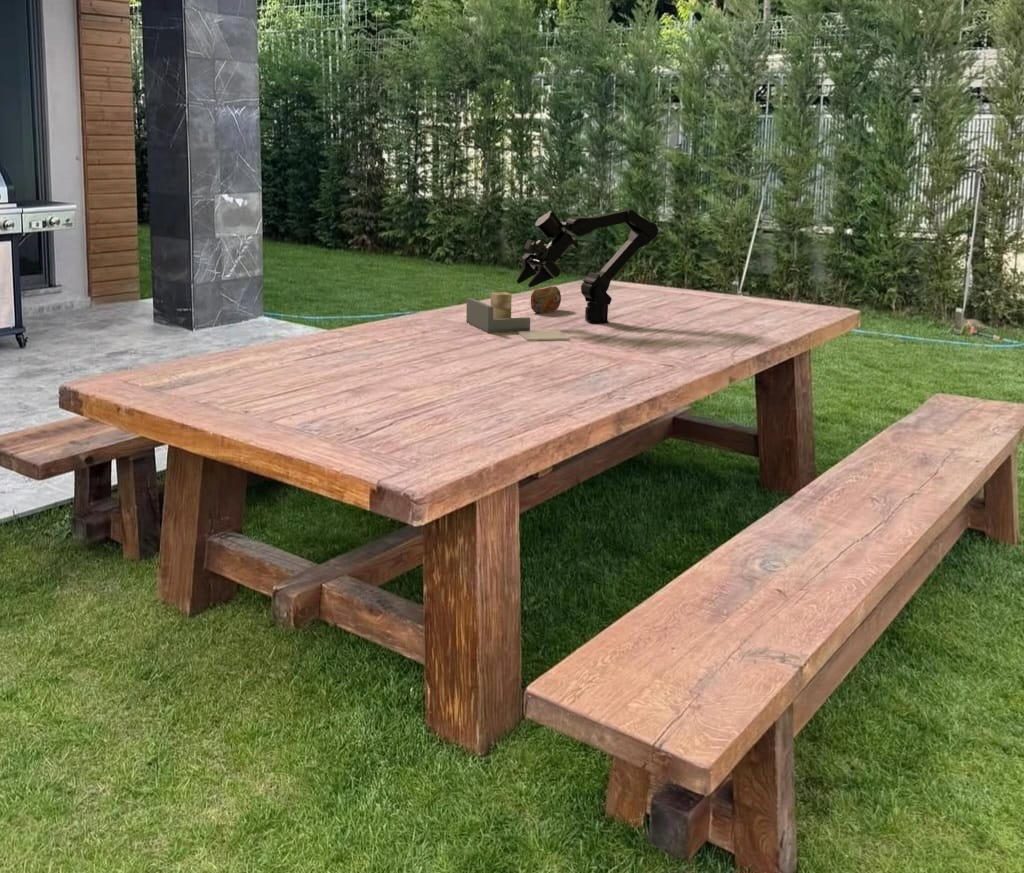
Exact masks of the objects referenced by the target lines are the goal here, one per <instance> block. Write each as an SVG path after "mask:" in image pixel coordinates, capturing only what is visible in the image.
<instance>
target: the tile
mask: <svg viewBox="0 0 1024 873" xmlns="http://www.w3.org/2000/svg"><path fill="white" fill-rule="evenodd" d="M517 334H518V335H519V334H520V336H521V337H522V338H523V339H524V338H525V339H524V340H525V341H527V342H539V341H538V340H553V341H570V339H571V338H570V337H569V336H567V335H566V334H565V333H563V332H562V331H560V330H530V331H518V332H517Z"/></svg>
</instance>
